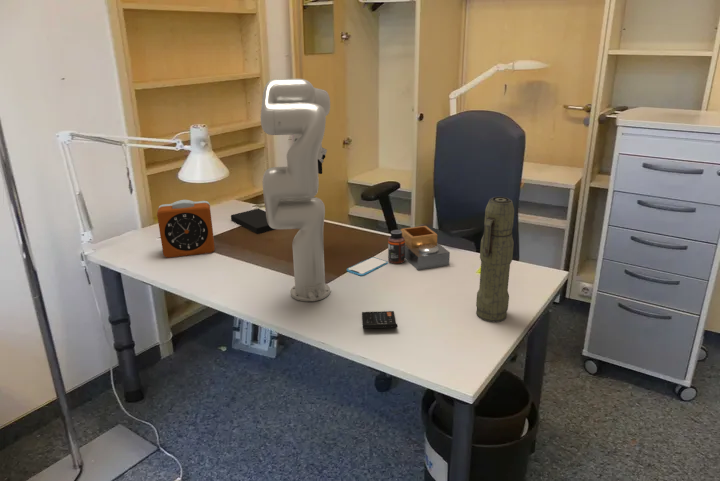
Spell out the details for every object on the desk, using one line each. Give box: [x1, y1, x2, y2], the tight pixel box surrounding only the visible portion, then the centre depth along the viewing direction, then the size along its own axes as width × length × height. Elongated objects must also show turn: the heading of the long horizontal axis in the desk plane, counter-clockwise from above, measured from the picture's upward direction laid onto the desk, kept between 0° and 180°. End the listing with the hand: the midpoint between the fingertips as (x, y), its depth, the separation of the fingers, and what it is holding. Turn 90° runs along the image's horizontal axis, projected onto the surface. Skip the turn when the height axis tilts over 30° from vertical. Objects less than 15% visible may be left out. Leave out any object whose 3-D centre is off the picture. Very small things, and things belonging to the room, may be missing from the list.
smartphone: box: [346, 256, 389, 277], centre depth 191 cm, size 8×1×15 cm
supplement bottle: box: [387, 229, 406, 265], centre depth 194 cm, size 6×6×11 cm
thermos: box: [475, 196, 515, 323], centre depth 152 cm, size 9×12×35 cm
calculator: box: [361, 310, 399, 329], centre depth 155 cm, size 9×12×3 cm
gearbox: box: [400, 225, 450, 271], centre depth 197 cm, size 20×12×9 cm, turn 18°
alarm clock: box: [156, 199, 215, 259], centre depth 203 cm, size 18×9×21 cm, turn 105°
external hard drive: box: [230, 208, 277, 235], centre depth 236 cm, size 14×23×3 cm, turn 40°
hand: (308, 175), depth 198 cm, fingers open, 9 cm apart
